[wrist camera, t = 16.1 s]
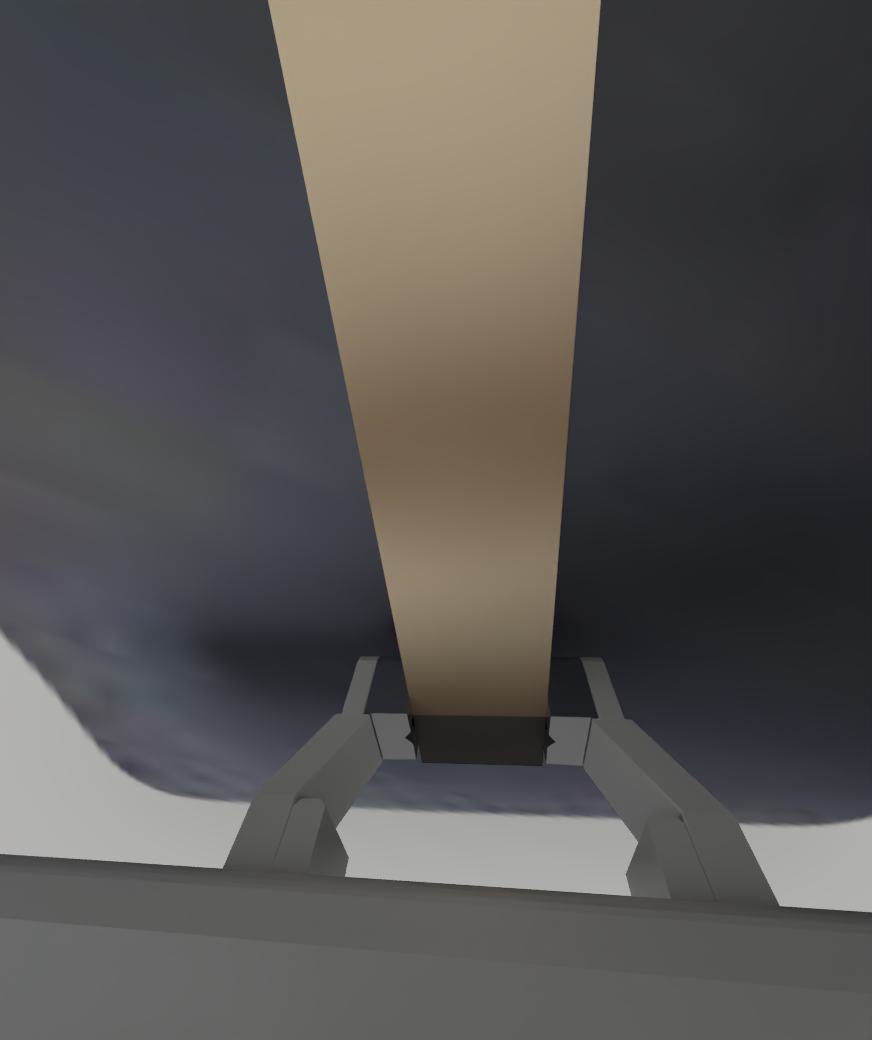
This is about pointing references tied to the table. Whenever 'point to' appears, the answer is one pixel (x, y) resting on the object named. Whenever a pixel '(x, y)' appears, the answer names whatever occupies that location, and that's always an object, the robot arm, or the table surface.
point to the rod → (454, 322)
